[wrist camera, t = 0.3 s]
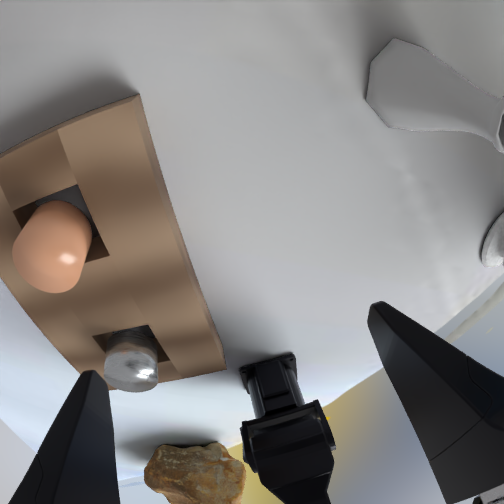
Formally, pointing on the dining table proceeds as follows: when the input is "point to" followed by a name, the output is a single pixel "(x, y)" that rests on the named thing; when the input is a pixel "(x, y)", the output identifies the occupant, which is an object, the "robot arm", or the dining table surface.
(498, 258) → the table lamp
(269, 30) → the dining table surface
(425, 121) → the flask
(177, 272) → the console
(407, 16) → the dining table surface
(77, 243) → the peach rounded cylinder
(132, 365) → the steel plunger
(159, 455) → the rough brown rock
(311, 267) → the dining table surface
